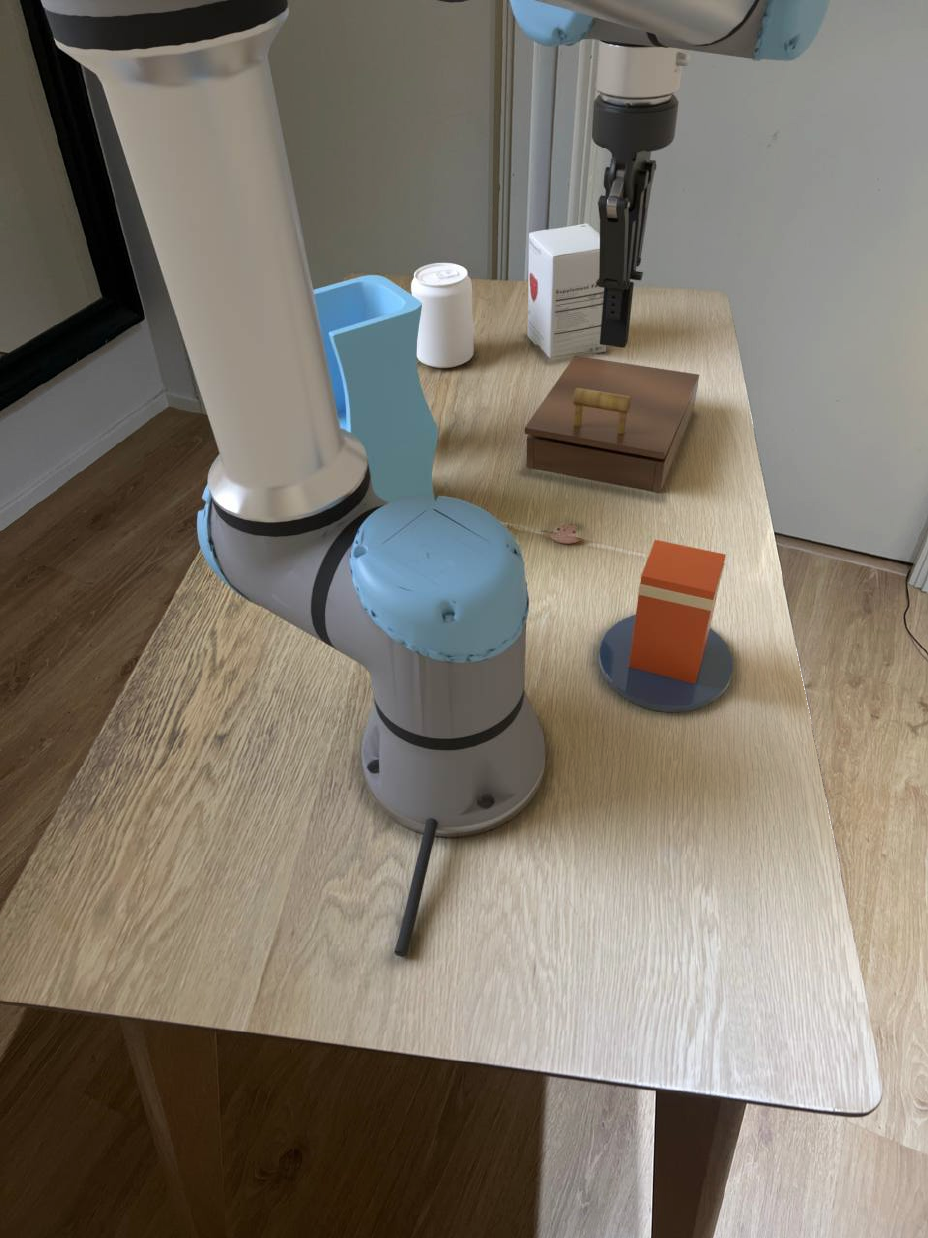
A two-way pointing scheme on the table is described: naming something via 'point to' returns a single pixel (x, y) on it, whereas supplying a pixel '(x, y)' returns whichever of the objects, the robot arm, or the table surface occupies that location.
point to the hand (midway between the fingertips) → (613, 342)
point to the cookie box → (675, 610)
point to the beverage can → (444, 315)
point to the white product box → (565, 290)
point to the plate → (658, 688)
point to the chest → (606, 460)
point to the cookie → (565, 534)
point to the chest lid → (615, 406)
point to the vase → (380, 381)
